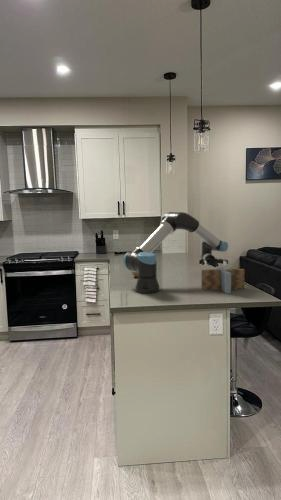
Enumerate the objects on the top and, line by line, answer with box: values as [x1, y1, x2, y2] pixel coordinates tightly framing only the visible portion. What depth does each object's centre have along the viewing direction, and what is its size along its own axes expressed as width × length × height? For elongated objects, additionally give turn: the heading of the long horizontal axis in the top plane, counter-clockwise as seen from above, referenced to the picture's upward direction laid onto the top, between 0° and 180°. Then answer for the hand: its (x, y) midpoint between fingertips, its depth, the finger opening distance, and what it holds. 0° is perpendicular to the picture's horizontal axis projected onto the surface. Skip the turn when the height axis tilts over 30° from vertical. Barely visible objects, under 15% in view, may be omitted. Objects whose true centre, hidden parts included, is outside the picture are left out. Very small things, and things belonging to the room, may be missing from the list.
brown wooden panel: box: [201, 268, 245, 291], centre depth 194 cm, size 26×3×12 cm, turn 90°
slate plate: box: [215, 265, 232, 294], centre depth 194 cm, size 24×3×12 cm, turn 0°
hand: (216, 263), depth 211 cm, fingers open, 13 cm apart
